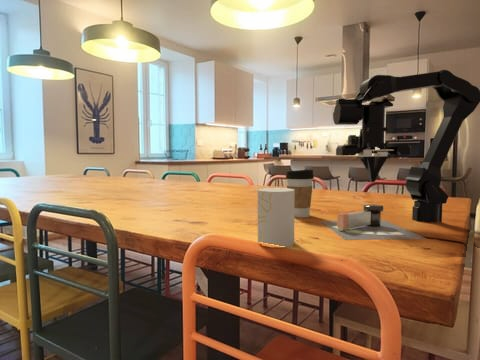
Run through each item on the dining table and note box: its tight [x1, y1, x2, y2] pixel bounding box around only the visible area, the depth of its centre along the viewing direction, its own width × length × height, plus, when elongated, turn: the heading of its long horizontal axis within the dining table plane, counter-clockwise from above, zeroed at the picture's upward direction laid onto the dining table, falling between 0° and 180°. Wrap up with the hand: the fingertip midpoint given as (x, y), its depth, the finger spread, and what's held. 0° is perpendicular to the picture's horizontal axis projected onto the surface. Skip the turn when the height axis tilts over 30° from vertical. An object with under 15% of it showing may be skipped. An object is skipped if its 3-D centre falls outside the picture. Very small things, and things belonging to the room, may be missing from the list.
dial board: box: [321, 220, 427, 241], centre depth 85 cm, size 18×20×1 cm
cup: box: [256, 187, 295, 248], centre depth 76 cm, size 8×8×12 cm
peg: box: [337, 203, 384, 230], centre depth 87 cm, size 15×5×5 cm, turn 122°
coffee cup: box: [285, 169, 315, 218], centre depth 104 cm, size 8×8×15 cm
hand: (372, 181), depth 94 cm, fingers closed
